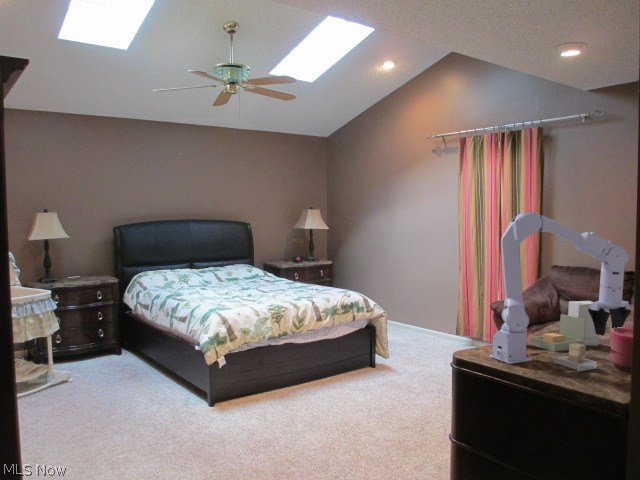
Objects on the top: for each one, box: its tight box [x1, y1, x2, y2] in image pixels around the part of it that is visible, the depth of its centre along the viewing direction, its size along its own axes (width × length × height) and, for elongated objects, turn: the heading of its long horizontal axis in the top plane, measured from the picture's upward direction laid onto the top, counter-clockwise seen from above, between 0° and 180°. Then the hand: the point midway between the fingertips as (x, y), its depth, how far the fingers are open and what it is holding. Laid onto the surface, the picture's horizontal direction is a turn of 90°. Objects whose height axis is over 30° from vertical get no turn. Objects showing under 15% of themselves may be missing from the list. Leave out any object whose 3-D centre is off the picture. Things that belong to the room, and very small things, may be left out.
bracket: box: [553, 355, 598, 372], centre depth 143 cm, size 8×8×5 cm
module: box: [542, 332, 564, 343], centre depth 164 cm, size 5×4×4 cm
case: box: [530, 313, 586, 353], centre depth 165 cm, size 15×9×10 cm, turn 117°
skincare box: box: [567, 300, 600, 346], centre depth 170 cm, size 8×6×15 cm
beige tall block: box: [568, 343, 587, 363], centre depth 143 cm, size 3×3×6 cm
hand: (608, 333), depth 143 cm, fingers open, 7 cm apart
